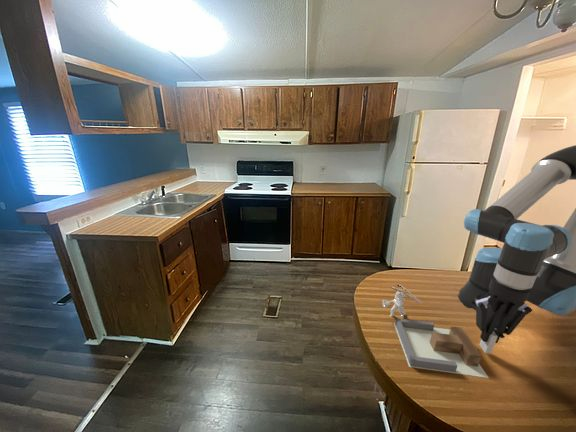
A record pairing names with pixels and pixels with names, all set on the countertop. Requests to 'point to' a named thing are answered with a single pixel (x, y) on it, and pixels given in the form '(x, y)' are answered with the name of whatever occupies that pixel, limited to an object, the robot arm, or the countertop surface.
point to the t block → (456, 345)
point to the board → (430, 349)
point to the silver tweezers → (406, 294)
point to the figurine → (396, 304)
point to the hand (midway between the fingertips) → (485, 348)
